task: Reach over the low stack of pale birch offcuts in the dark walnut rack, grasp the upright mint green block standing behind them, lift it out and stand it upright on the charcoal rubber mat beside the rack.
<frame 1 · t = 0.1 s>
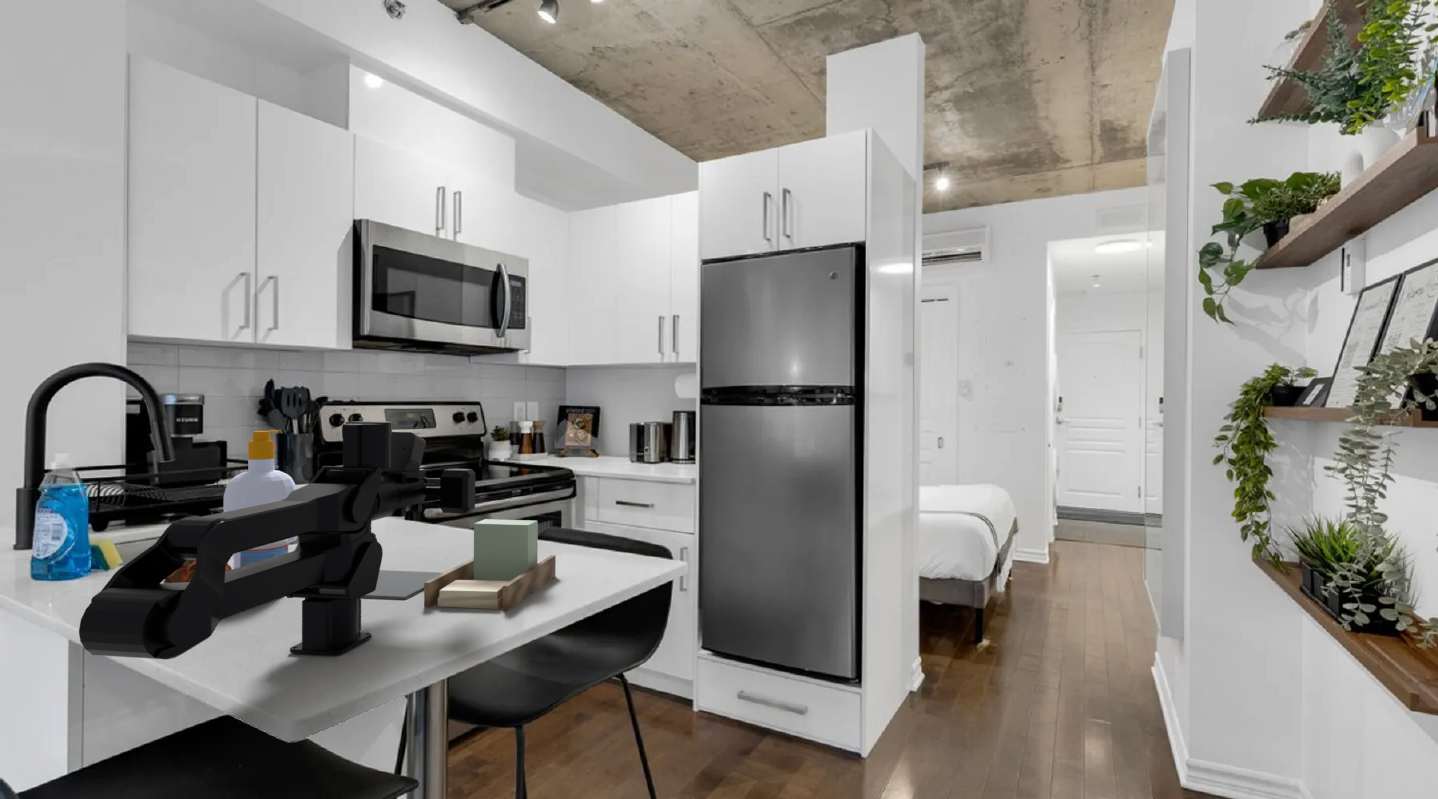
hand: (440, 482, 110), 17 cm above the countertop, tool horizontal, fingers open, 9 cm apart
offcut stack: (477, 601, 103), resting in walnut rack
walnut rack: (495, 590, 109), on the countertop
charcoal mat: (388, 584, 111), on the countertop
upright mint green block: (505, 583, 113), resting in walnut rack
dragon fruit: (194, 612, 98), on the countertop
pill bottle: (264, 596, 105), on the countertop
soap bottle: (261, 577, 116), on the countertop
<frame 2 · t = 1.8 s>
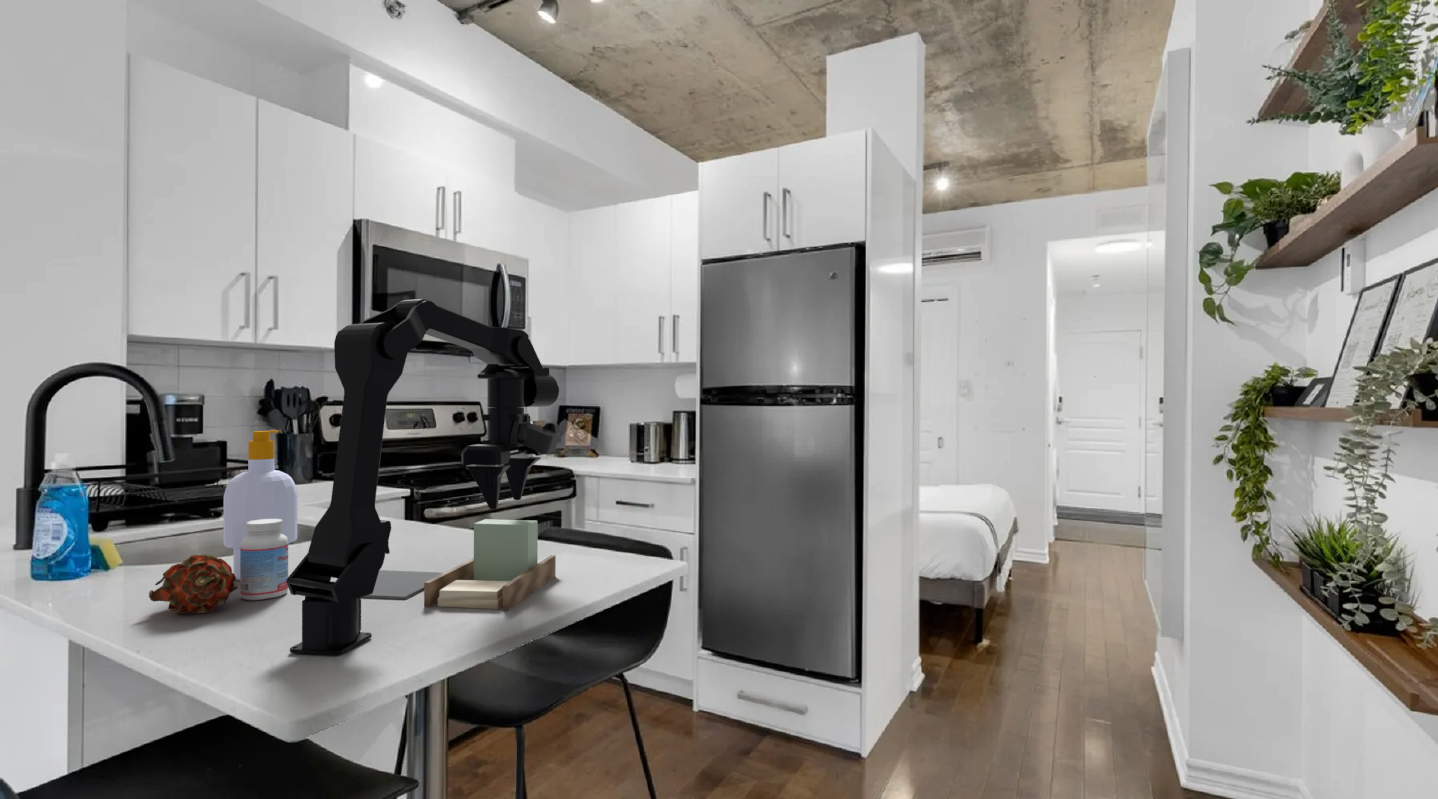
hand: (505, 504, 113), 13 cm above the countertop, tool pointing down, fingers open, 9 cm apart
nothing on the countertop moved.
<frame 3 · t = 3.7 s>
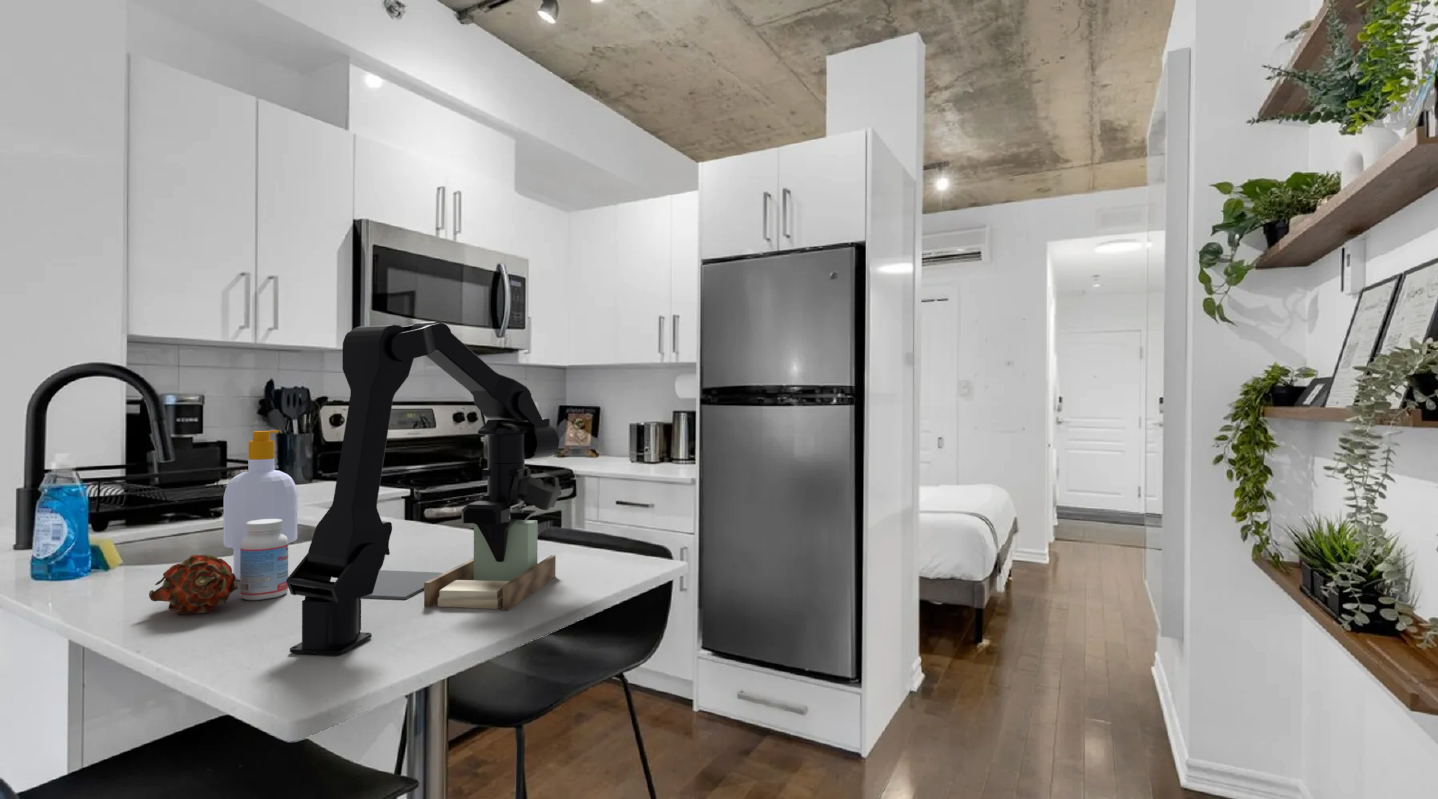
hand: (505, 558, 113), 4 cm above the countertop, tool pointing down, fingers closed on upright mint green block, 4 cm apart
upright mint green block: (505, 583, 113), resting in walnut rack, touching gripper
everything else where it was.
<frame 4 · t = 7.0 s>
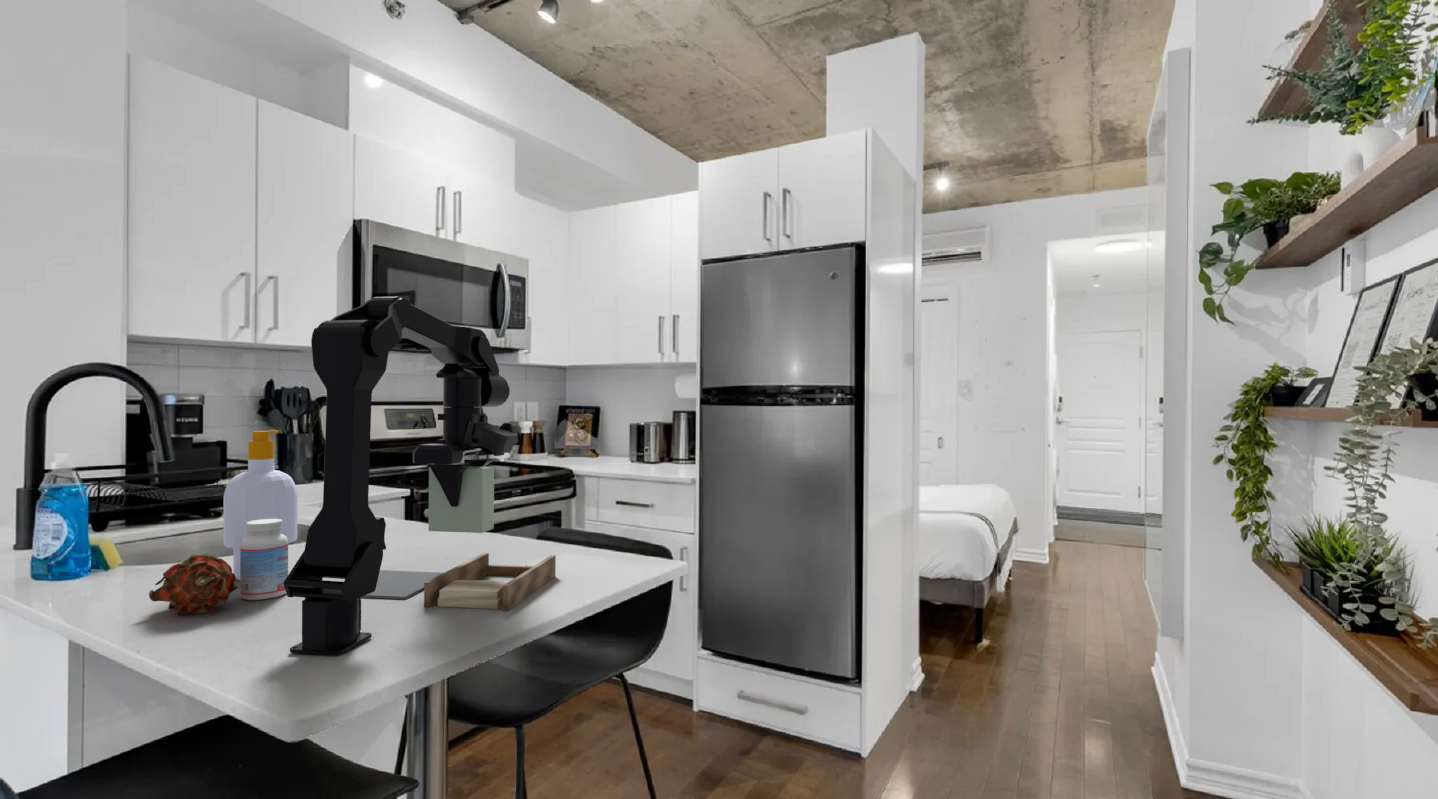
hand: (461, 504, 112), 13 cm above the countertop, tool pointing down, fingers closed on upright mint green block, 4 cm apart
upright mint green block: (461, 529, 112), point 9 cm above the countertop, touching gripper
everything else where it was.
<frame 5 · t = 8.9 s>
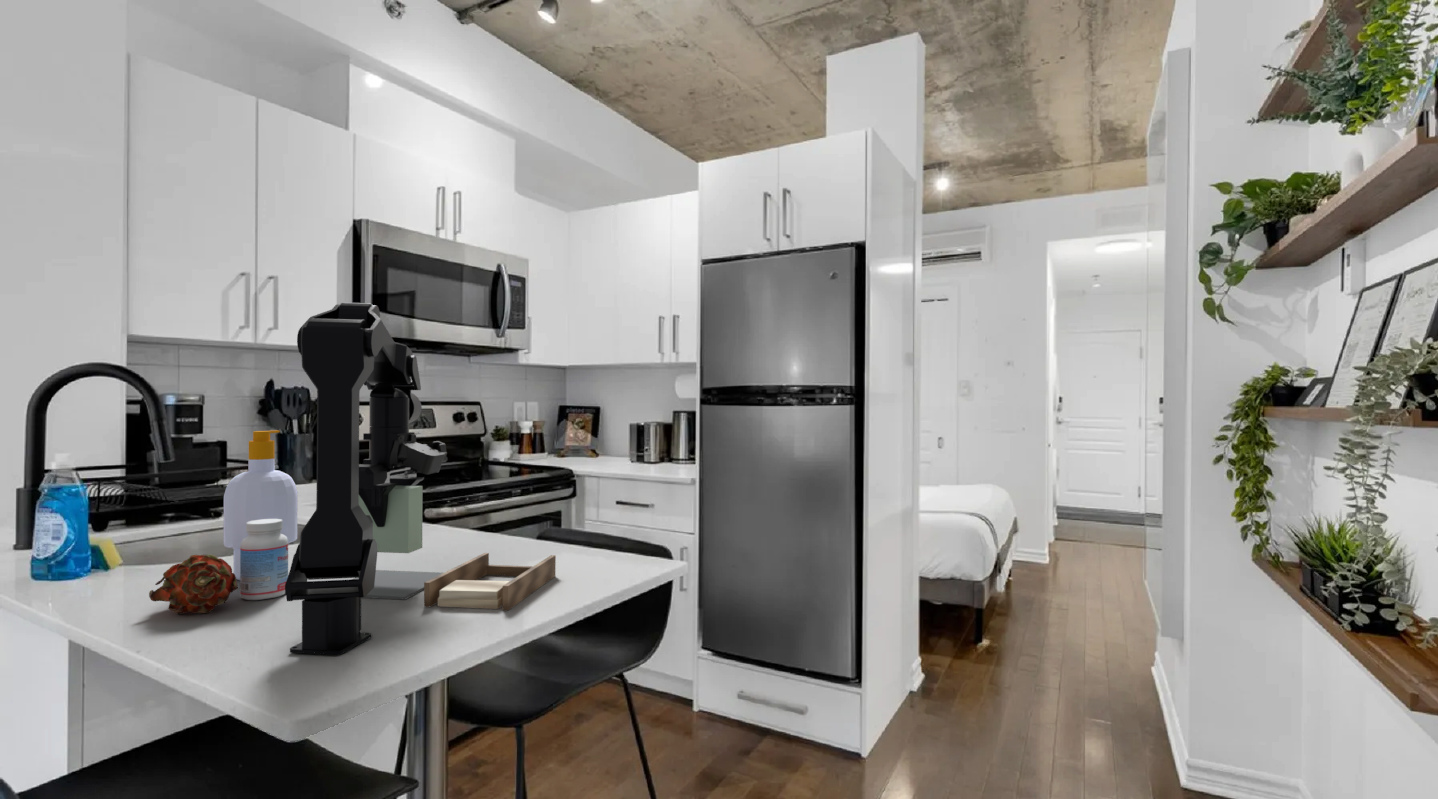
hand: (389, 524, 111), 10 cm above the countertop, tool pointing down, fingers closed on upright mint green block, 4 cm apart
upright mint green block: (388, 549, 111), point 6 cm above the countertop, touching gripper
everything else where it was.
when the fingers open (5 cm above the countertop, at t = 10.5 s): upright mint green block stays where it is, resting on charcoal mat.
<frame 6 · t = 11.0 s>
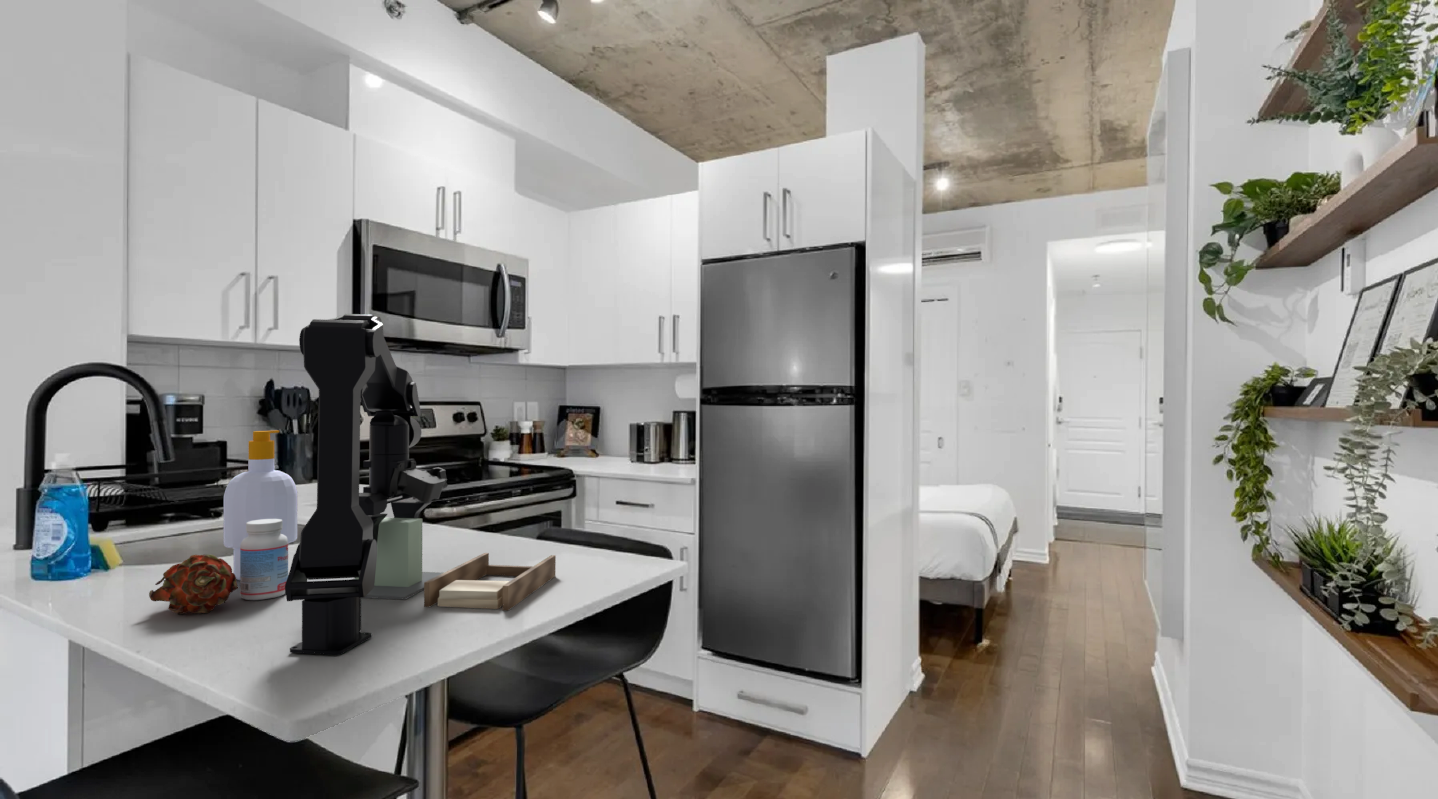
hand: (389, 551, 111), 5 cm above the countertop, tool pointing down, fingers open, 9 cm apart
upright mint green block: (388, 582, 111), resting on charcoal mat
everything else where it was.
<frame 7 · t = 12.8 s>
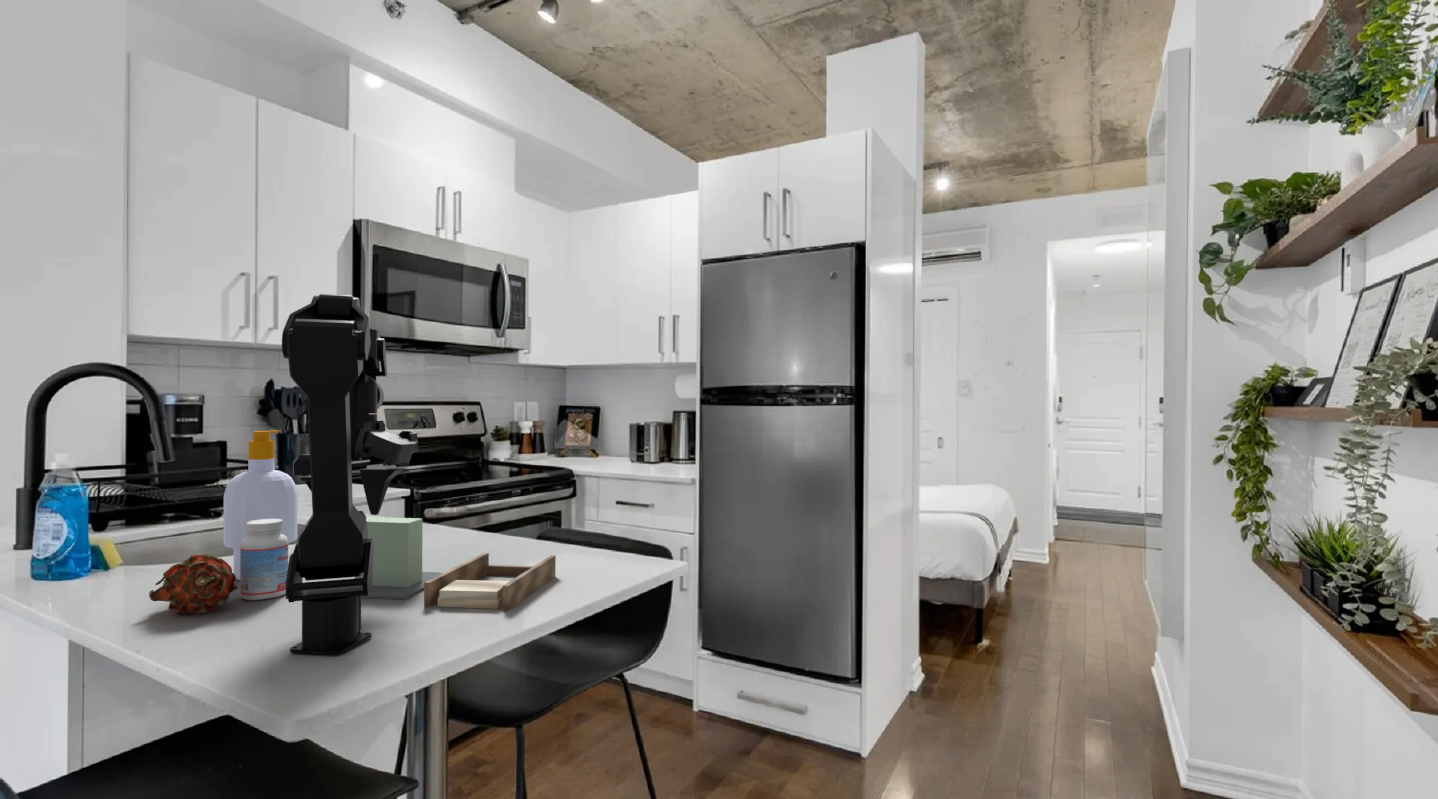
hand: (355, 519, 104), 12 cm above the countertop, tool pointing down, fingers open, 9 cm apart
nothing on the countertop moved.
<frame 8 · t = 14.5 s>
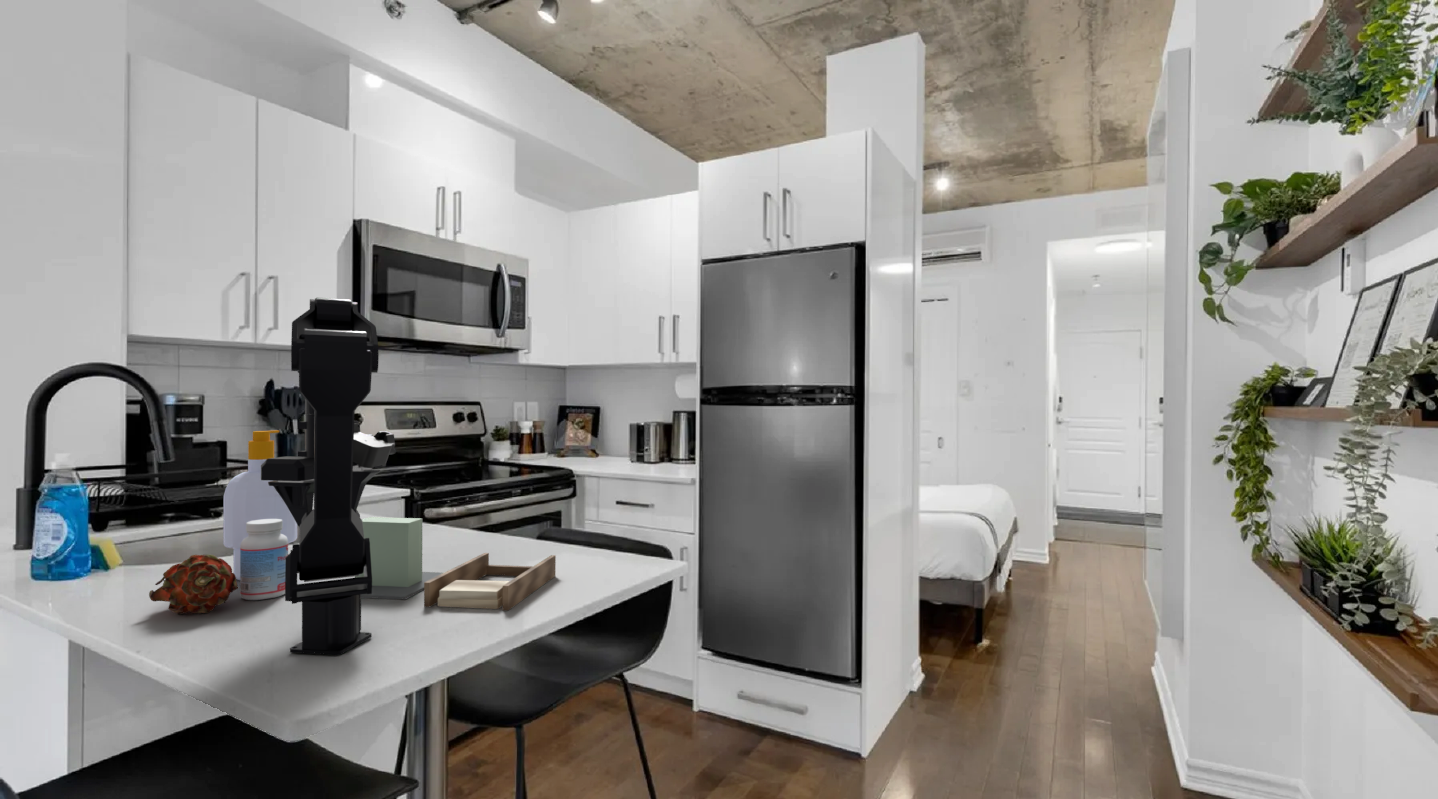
hand: (328, 524, 99), 12 cm above the countertop, tool pointing down, fingers open, 9 cm apart
nothing on the countertop moved.
at the end: upright mint green block inside the target area on the charcoal mat (0.0 cm from its centre), point 0.4 cm above the charcoal mat's base; upright mint green block tilted 0°; the gripper is holding nothing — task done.
